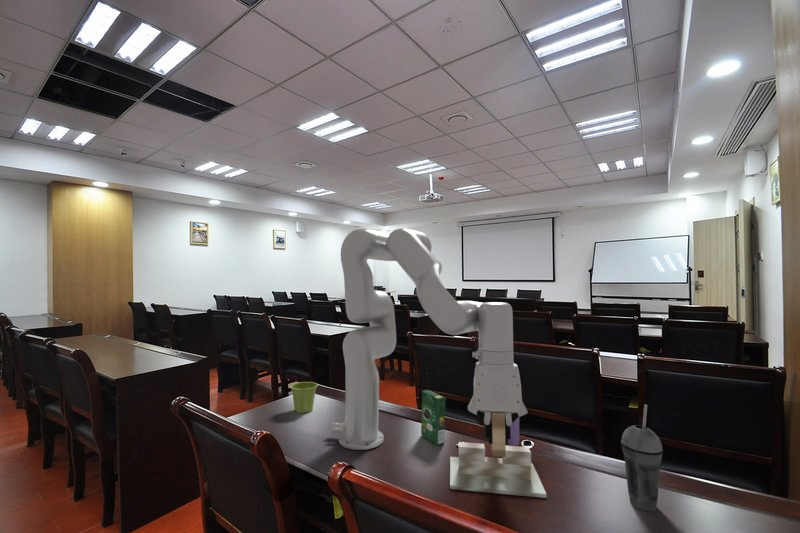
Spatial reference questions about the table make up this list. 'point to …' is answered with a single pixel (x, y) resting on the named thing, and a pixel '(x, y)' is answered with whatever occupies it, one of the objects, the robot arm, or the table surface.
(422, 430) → the coffee box
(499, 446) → the wooden block
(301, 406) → the plant pot
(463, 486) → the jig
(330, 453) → the table surface
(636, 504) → the beverage cup
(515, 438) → the beverage can
